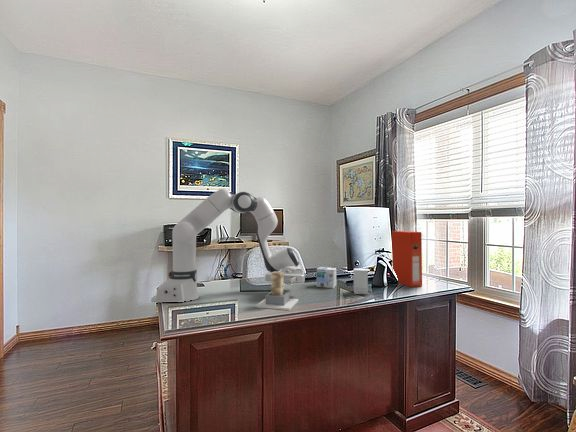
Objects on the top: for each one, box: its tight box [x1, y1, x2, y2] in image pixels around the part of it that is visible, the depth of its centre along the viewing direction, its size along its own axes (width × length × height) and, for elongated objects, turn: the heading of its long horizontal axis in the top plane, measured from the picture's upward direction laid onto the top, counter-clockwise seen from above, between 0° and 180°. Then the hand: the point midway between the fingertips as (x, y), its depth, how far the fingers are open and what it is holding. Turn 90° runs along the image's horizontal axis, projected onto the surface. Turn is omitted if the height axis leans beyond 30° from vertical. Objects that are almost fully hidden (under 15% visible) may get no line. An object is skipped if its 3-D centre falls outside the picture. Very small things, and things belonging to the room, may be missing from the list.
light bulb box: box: [315, 266, 337, 289], centre depth 181 cm, size 11×7×11 cm, turn 68°
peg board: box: [255, 291, 299, 311], centre depth 144 cm, size 16×16×5 cm
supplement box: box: [353, 267, 369, 295], centre depth 166 cm, size 7×7×13 cm
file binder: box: [391, 230, 423, 288], centre depth 187 cm, size 8×17×32 cm, turn 17°
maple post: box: [270, 271, 284, 296], centre depth 144 cm, size 4×4×14 cm
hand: (280, 280), depth 148 cm, fingers open, 8 cm apart
